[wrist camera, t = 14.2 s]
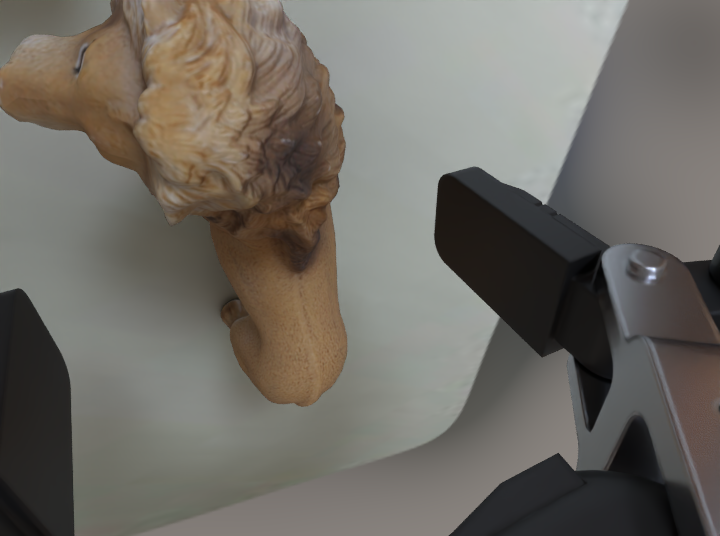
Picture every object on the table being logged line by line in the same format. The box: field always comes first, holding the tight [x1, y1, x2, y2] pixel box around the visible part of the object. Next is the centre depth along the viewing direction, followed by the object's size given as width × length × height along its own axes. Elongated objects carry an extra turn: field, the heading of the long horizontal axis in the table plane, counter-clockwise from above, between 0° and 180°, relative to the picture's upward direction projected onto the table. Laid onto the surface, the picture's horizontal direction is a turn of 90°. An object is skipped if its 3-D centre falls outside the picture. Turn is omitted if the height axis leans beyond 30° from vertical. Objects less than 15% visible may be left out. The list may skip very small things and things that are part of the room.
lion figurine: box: [0, 0, 347, 407], centre depth 14 cm, size 15×5×9 cm, turn 15°
